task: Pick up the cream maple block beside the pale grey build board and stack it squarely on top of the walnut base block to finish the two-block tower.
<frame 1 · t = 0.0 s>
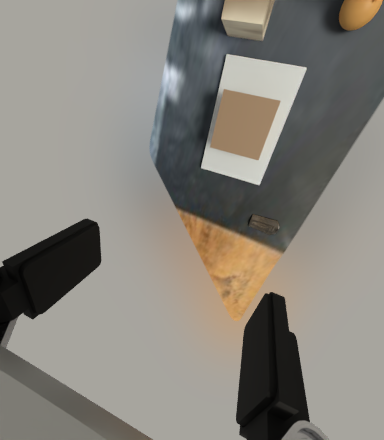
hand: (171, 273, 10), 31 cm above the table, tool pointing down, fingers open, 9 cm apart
figurine: (358, 4, 24), on the table
maple block: (251, 13, 27), on the table
block: (263, 223, 40), on the table
build board: (245, 126, 33), on the table
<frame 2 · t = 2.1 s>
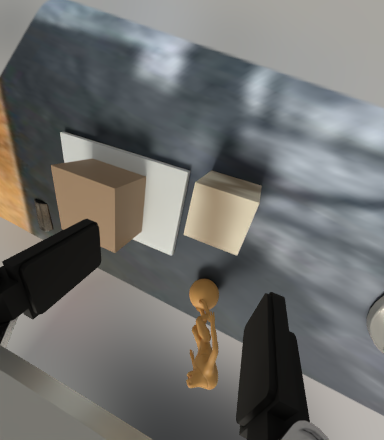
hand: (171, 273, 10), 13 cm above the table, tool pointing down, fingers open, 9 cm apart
figurine: (214, 285, 27), on the table
maple block: (228, 200, 21), on the table
block: (47, 214, 35), on the table
build board: (122, 194, 26), on the table
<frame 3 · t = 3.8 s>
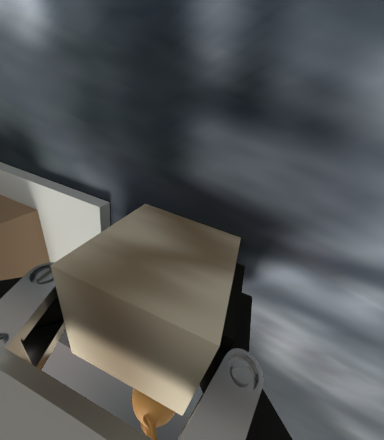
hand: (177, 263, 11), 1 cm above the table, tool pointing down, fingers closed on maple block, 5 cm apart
figurine: (178, 369, 17), on the table
maple block: (181, 258, 11), on the table, touching gripper
build board: (20, 232, 16), on the table
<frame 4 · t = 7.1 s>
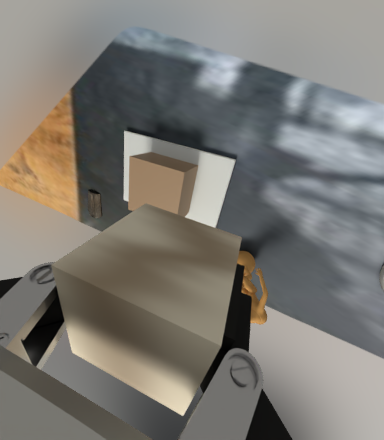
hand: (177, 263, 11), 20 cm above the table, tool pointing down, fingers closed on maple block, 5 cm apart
figurine: (249, 257, 32), on the table
maple block: (182, 257, 11), point 19 cm above the table, touching gripper
block: (97, 203, 40), on the table
build board: (172, 182, 31), on the table
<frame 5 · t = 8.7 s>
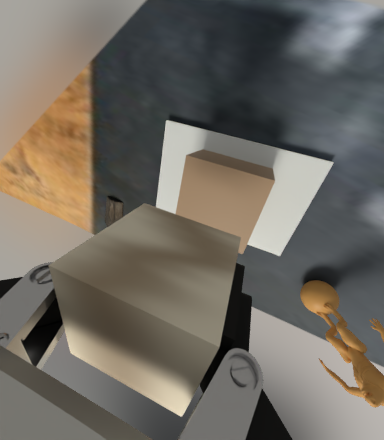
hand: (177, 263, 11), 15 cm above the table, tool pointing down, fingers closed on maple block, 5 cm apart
figurine: (322, 287, 25), on the table
maple block: (181, 258, 11), point 15 cm above the table, touching gripper
block: (116, 212, 32), on the table
build board: (227, 189, 23), on the table
when the fingers open (8 cm above the table, at t = 10.3 s): maple block drops 1 cm, resting on build board.
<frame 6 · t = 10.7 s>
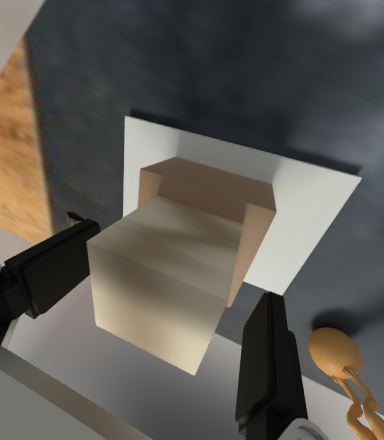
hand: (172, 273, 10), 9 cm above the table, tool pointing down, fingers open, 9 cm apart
figurine: (336, 334, 19), on the table
maple block: (189, 245, 12), point 6 cm above the table, touching build board
block: (81, 231, 26), on the table
build board: (211, 209, 18), on the table
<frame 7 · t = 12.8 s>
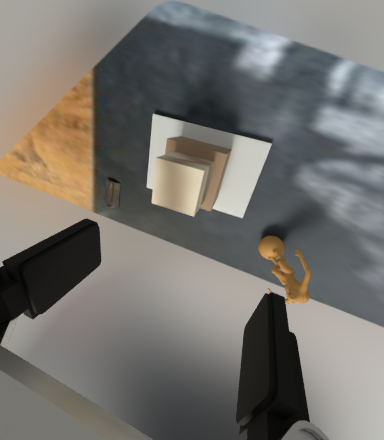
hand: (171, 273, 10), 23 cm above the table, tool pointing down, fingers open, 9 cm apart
figurine: (275, 242, 33), on the table
maple block: (190, 176, 25), point 6 cm above the table, touching build board
block: (114, 192, 39), on the table
build board: (201, 167, 31), on the table
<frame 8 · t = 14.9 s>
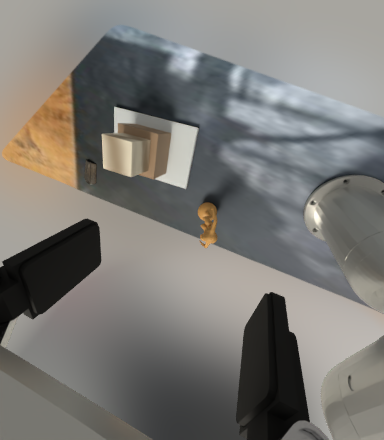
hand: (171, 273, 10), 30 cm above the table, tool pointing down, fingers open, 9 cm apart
figurine: (214, 209, 41), on the table
maple block: (136, 152, 34), point 6 cm above the table, touching build board
block: (92, 171, 48), on the table
build board: (153, 148, 39), on the table
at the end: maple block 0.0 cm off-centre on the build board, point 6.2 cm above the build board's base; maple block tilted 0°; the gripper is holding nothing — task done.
